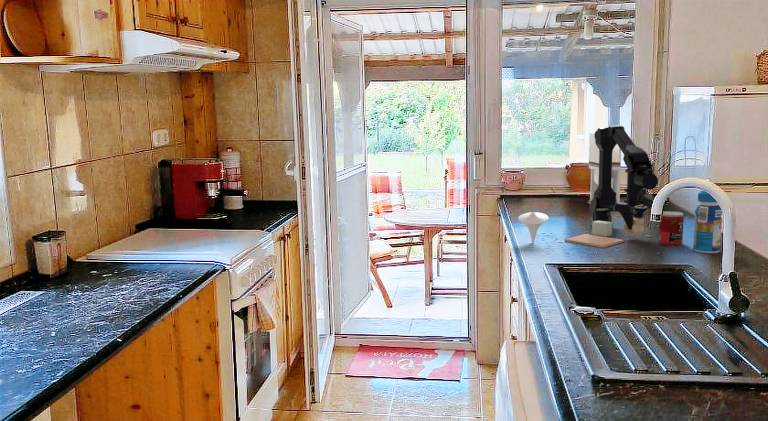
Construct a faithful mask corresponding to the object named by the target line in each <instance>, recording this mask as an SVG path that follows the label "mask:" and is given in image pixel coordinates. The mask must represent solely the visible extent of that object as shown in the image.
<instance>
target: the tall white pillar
mask: <svg viewBox="0 0 768 421" xmlns="http://www.w3.org/2000/svg"><path fill="white" fill-rule="evenodd" d="M595 132H596V131H594V132H591V131H590V132H589V138H588V142H589V143H588V144H589V146H588V169H590V192H589V194H590V196H589V200H587V204H588V203H589V204H590V203H591V202H592V200H593V198H594V192H595V191H596V189H597V188H598V186H599V149H598V147H597V145H596V143H595V137H594V134H595ZM621 162H622V151H621V149H620V148H619V146H618V145H617V144H616V146H615V147H614V149H613V150H612V179H611V187H612V189H613V191H614V192H616V203H621V202H620V197H621V194H620V193H621V192H620V191H621V168H622V167H621V166H622V163H621Z"/></svg>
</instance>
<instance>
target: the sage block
mask: <svg viewBox="0 0 768 421" xmlns="http://www.w3.org/2000/svg"><path fill="white" fill-rule="evenodd" d="M591 225H592V226H591V235H595V236H602V237H610V236H612V235H613V226H612V225H613V221H612V222H607V221H599V220H598V221H594V222H593V221H591Z"/></svg>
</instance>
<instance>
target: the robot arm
mask: <svg viewBox="0 0 768 421" xmlns="http://www.w3.org/2000/svg"><path fill="white" fill-rule="evenodd" d="M594 132H595V134H594V137H595V143H596V145H597V147H598V149H599V186H598V188H597V189H596V191H595V192H594V198H593V200H592V202H591V203H590V205H588V207H589V208H588V209H589V212H590V213H591V212H592V222H594V221H598V220H599V221H607V222H612V223H613V220H612V218H613V217H612V212H613V213H614V212H618V213H619V214H620V215H621V217H622V218H623V220H624V221H625V223H626V225H627V227H628V229H630V230H631V229H632V225H633V218H634V217H638V218H644V216H645V214H646V213H647V212H648V211H650V210H652V209H651V207H652V203H653V200H654V198H655V196H656V195H657V193H658V192H656V193H653V194H651V193H648V191H647V190H654V189H655V188H657V186H658V183H659V179H658V176H657V175H656V174H655V173H654V170H653V164H652V162H651V160H650V157H649V155H648V152H646V151H645V149H643V147H642V148H641V147H639V146H636V144H635V143H634V142H633V140H632V139H631V137H630V136H629V134H628V133H627V132H626V131H625V126H624V125H610V126H608V127H598V128H597V130H596V131H594ZM616 144H617V145H618V146H619V148H620V149H621V153H622V154H623V158H622V161H623V162H624V165H625V166H626V169H625V171H624V172H625V173H626V174H627V177H626V178H627V179H626V182H627V183H626V188H624V192H625V193H626V199H624V200H623V202H620V203H616V192H614V191H613V189H612V187H611V179H612V150H613V149H614V147H615V146H616ZM624 221H623V222H624ZM589 226H590V227H592V224H590V225H589ZM612 227H614V226H613V224H612Z"/></svg>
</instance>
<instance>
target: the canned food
mask: <svg viewBox="0 0 768 421" xmlns="http://www.w3.org/2000/svg"><path fill="white" fill-rule="evenodd" d="M662 212H663V214H662V221H661V222H659V221H658V222H659V226H658V227H659V228H658V243H659V244H660V245H662V246H668V247H679V246H682V244H683V238H684V236H683V235H684V218H685V216H684V212H679V211H670V210H669V211H667V210H666V211H662Z"/></svg>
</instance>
